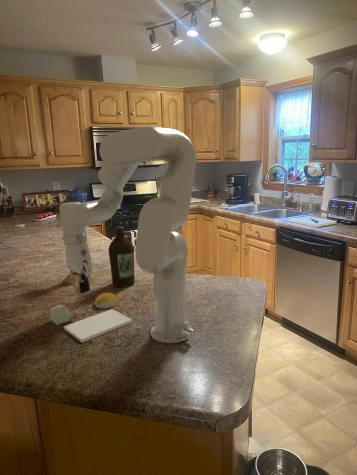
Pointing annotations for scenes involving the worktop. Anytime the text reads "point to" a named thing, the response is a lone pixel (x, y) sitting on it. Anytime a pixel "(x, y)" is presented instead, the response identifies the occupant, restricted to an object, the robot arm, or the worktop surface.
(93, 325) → the ceramic tile
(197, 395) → the worktop surface
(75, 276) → the maple block
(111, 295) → the bread roll
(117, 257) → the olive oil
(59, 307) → the sage cube
